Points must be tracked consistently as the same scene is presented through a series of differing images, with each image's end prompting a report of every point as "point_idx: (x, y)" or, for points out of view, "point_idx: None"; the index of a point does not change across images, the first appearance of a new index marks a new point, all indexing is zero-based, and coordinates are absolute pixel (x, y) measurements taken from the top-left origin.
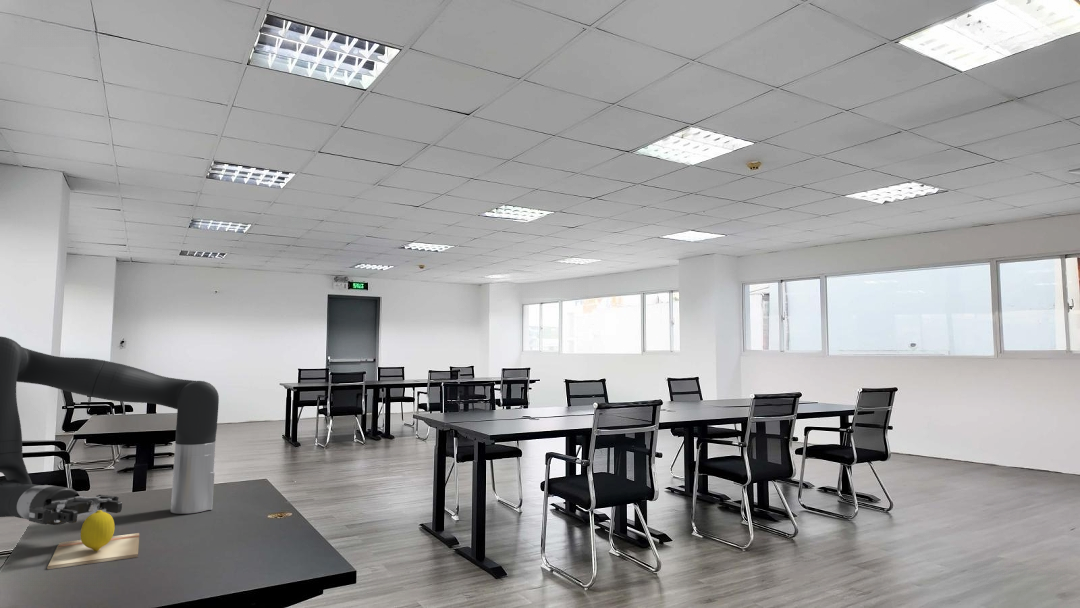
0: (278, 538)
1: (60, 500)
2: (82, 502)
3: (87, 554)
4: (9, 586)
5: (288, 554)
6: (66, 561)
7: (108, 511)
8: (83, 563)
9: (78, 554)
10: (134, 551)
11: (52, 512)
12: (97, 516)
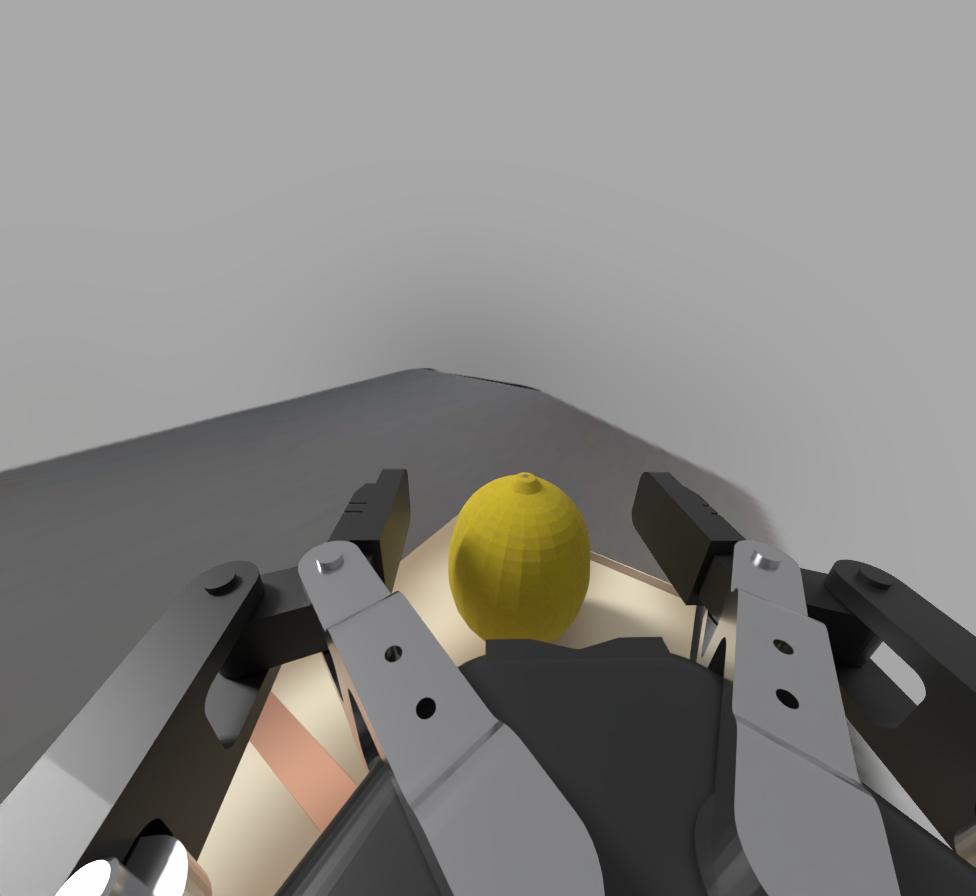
0: (274, 424)
1: (870, 807)
2: (528, 666)
3: None
4: None
5: (372, 396)
6: (634, 600)
7: (392, 582)
8: (593, 554)
9: (577, 648)
10: (453, 528)
11: (812, 587)
12: (545, 480)
